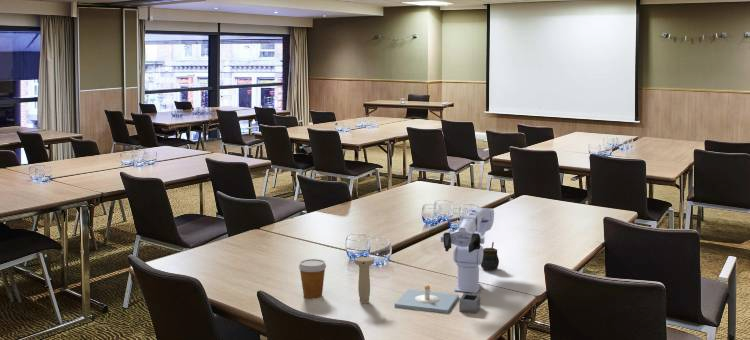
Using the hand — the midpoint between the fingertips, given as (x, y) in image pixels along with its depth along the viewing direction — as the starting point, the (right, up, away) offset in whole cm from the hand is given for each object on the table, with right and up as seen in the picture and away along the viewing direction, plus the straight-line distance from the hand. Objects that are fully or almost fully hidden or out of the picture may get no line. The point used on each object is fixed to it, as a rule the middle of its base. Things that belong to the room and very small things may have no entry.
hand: (457, 249), depth 227 cm
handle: (-31, -19, +9) cm, 37 cm away
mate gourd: (+18, -13, +46) cm, 51 cm away
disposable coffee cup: (-48, -18, +15) cm, 54 cm away
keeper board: (-9, -19, +9) cm, 23 cm away
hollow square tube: (+4, -20, +2) cm, 20 cm away
